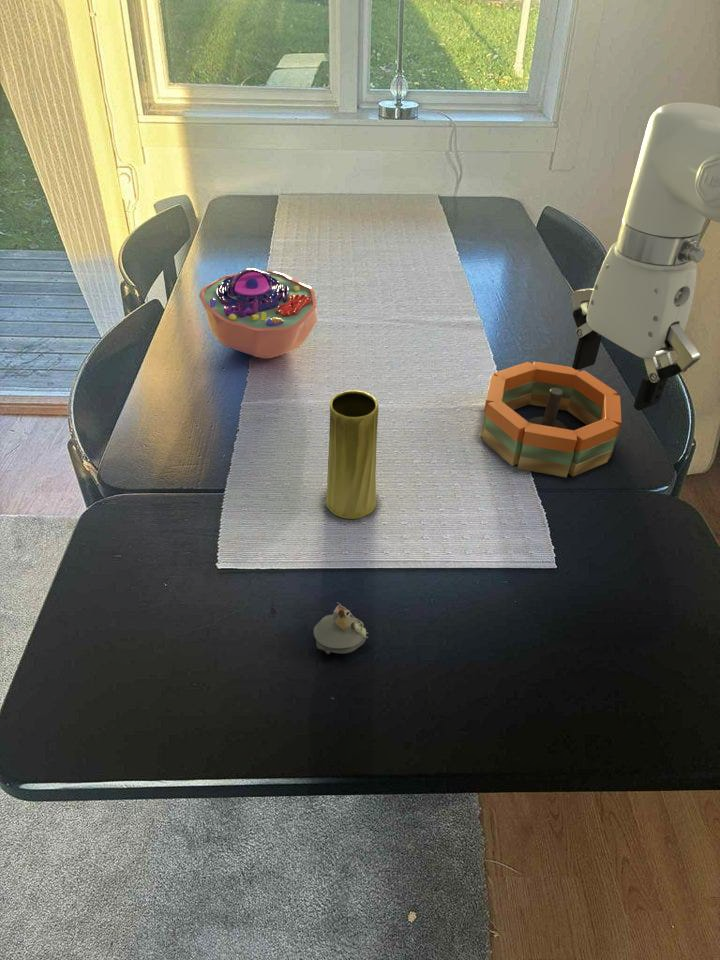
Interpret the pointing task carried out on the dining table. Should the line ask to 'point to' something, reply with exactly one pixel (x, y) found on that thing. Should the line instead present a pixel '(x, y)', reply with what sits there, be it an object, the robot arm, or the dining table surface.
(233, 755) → the dining table surface
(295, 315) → the cell model
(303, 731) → the dining table surface
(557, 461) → the ring stack
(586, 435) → the orange ring
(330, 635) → the figurine
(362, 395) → the vase
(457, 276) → the dining table surface
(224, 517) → the dining table surface
